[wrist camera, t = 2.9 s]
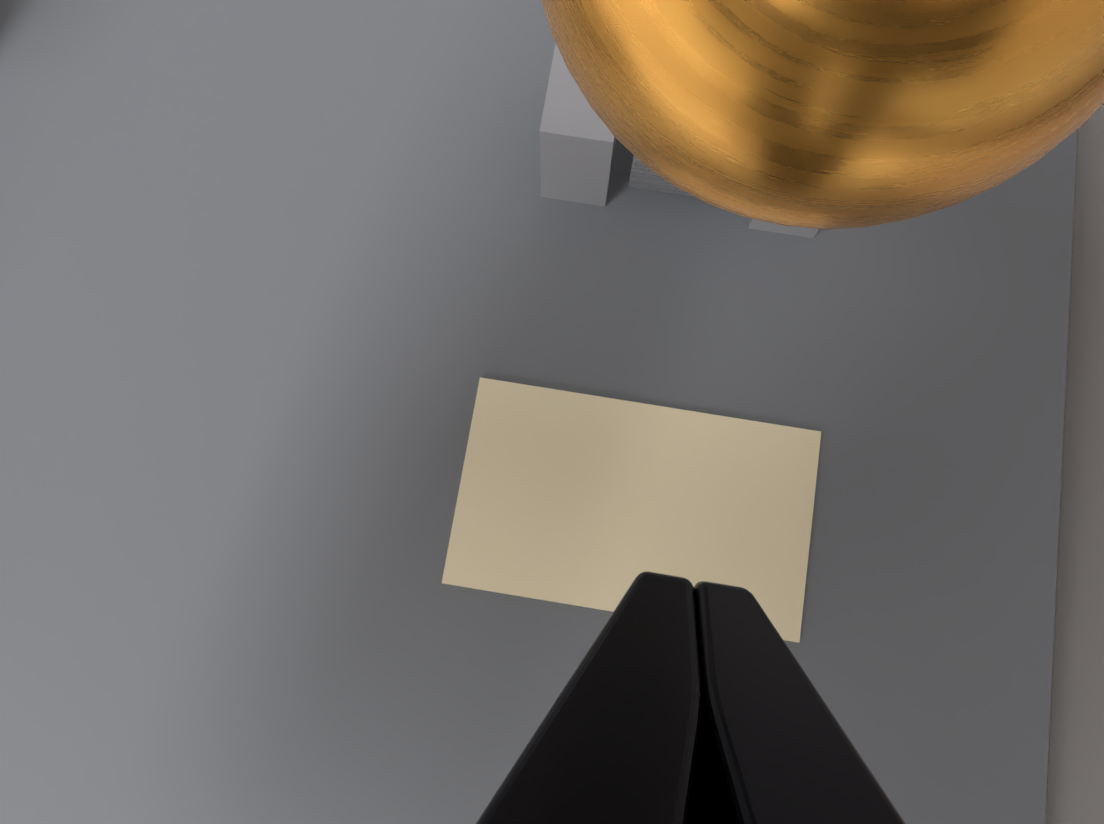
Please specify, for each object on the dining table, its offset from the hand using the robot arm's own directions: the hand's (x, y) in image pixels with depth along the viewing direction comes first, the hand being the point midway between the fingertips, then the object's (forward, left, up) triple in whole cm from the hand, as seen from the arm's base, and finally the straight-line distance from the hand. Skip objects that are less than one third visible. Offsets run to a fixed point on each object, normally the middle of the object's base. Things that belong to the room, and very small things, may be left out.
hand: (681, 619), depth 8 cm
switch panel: (+3, +7, -8) cm, 11 cm away
